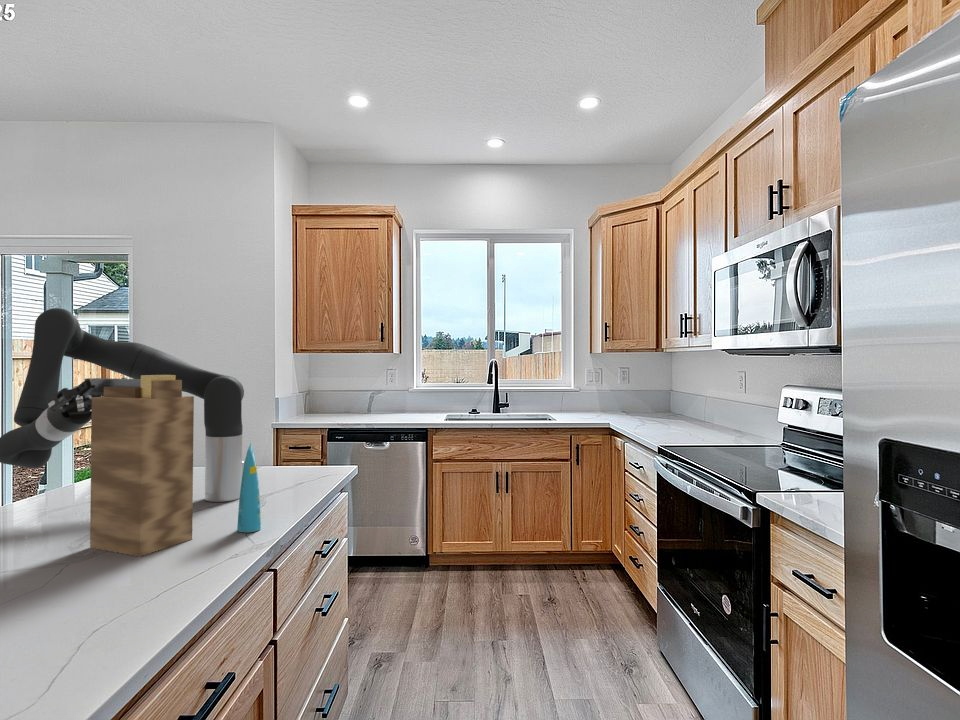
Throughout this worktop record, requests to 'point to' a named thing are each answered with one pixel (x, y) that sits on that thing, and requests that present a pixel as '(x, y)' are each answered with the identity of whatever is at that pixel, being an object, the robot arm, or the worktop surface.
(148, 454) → the post
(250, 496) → the tube
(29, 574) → the worktop surface
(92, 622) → the worktop surface
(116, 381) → the grey long block
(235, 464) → the robot arm
